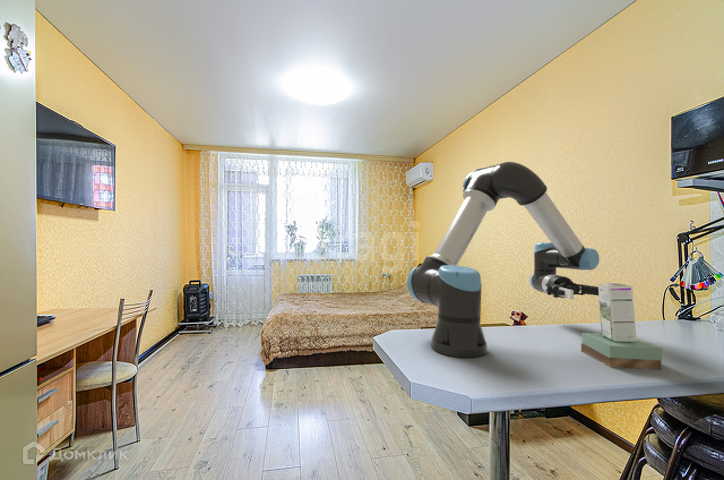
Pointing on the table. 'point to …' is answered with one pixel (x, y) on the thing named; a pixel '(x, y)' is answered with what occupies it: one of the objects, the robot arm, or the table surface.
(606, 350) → the top slab
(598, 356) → the bottom slab
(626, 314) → the syrup box
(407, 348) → the table surface
